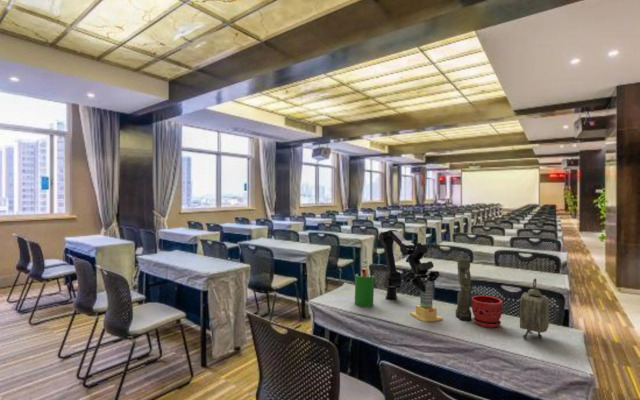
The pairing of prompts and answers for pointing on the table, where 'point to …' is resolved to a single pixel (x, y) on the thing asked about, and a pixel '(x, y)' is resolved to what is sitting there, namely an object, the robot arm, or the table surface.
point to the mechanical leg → (464, 290)
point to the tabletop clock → (534, 311)
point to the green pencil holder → (364, 289)
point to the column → (427, 294)
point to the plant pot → (487, 310)
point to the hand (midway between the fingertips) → (428, 291)
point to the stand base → (426, 314)
